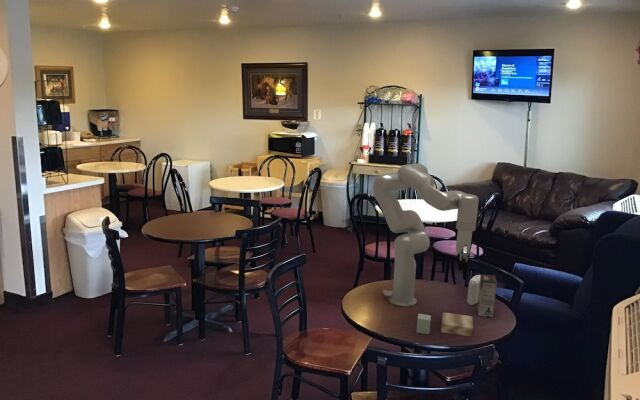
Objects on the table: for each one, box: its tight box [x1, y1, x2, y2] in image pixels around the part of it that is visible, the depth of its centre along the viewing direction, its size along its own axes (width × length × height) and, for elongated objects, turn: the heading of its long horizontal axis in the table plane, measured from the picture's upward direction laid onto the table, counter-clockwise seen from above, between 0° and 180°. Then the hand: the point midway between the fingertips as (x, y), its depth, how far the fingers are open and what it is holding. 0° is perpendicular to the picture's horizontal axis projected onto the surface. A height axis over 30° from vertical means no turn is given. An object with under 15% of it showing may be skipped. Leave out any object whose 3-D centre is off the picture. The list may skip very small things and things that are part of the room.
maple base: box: [440, 312, 474, 337], centre depth 227 cm, size 12×12×4 cm
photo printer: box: [466, 274, 481, 306], centre depth 255 cm, size 10×4×12 cm, turn 140°
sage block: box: [415, 313, 432, 335], centre depth 223 cm, size 5×5×6 cm
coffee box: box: [476, 274, 498, 318], centre depth 243 cm, size 9×6×16 cm
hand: (461, 266), depth 225 cm, fingers open, 9 cm apart
